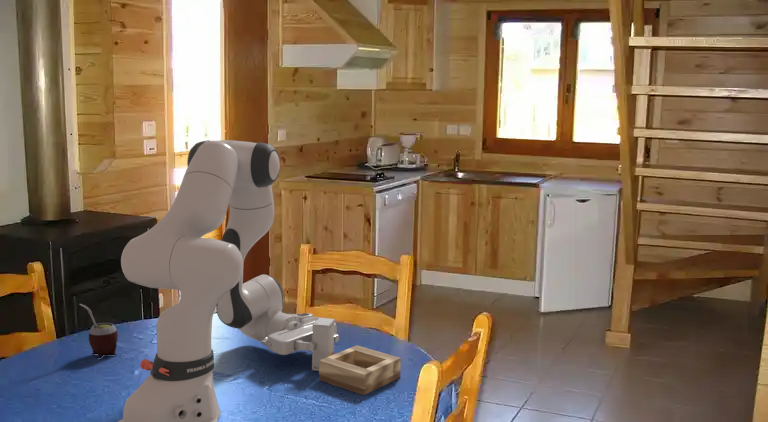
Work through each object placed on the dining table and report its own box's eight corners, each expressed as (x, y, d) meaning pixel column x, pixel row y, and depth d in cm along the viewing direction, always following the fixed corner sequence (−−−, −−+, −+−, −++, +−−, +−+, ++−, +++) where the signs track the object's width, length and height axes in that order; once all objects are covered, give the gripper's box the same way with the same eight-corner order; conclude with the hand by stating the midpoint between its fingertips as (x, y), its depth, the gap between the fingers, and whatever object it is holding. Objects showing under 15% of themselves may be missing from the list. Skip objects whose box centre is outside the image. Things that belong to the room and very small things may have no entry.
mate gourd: (123, 351, 200) (120, 296, 198) (109, 362, 193) (106, 304, 190) (95, 349, 201) (93, 295, 199) (81, 360, 193) (78, 303, 191)
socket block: (364, 395, 175) (364, 374, 174) (319, 380, 183) (319, 360, 182) (400, 377, 185) (400, 358, 185) (356, 364, 194) (356, 345, 193)
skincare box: (328, 372, 188) (328, 325, 186) (311, 370, 189) (311, 324, 187) (334, 363, 194) (335, 318, 192) (318, 362, 195) (318, 317, 193)
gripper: (256, 329, 190) (296, 341, 181) (313, 311, 206) (352, 321, 197) (257, 353, 191) (296, 366, 182) (313, 333, 207) (351, 344, 198)
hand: (326, 343), depth 190 cm, fingers closed on skincare box, 7 cm apart
